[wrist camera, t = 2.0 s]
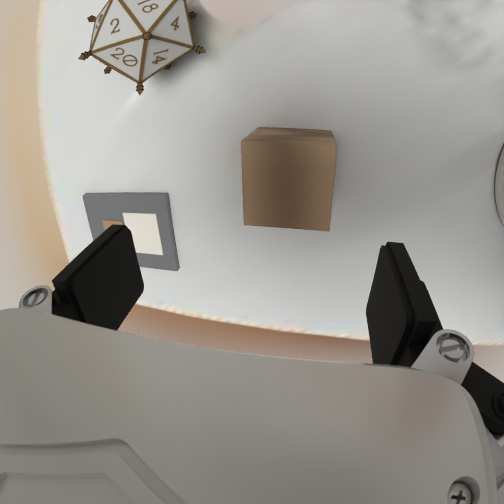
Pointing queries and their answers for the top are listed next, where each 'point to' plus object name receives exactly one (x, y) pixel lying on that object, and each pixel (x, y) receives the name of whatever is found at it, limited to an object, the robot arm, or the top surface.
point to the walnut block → (288, 178)
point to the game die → (141, 37)
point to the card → (137, 224)
